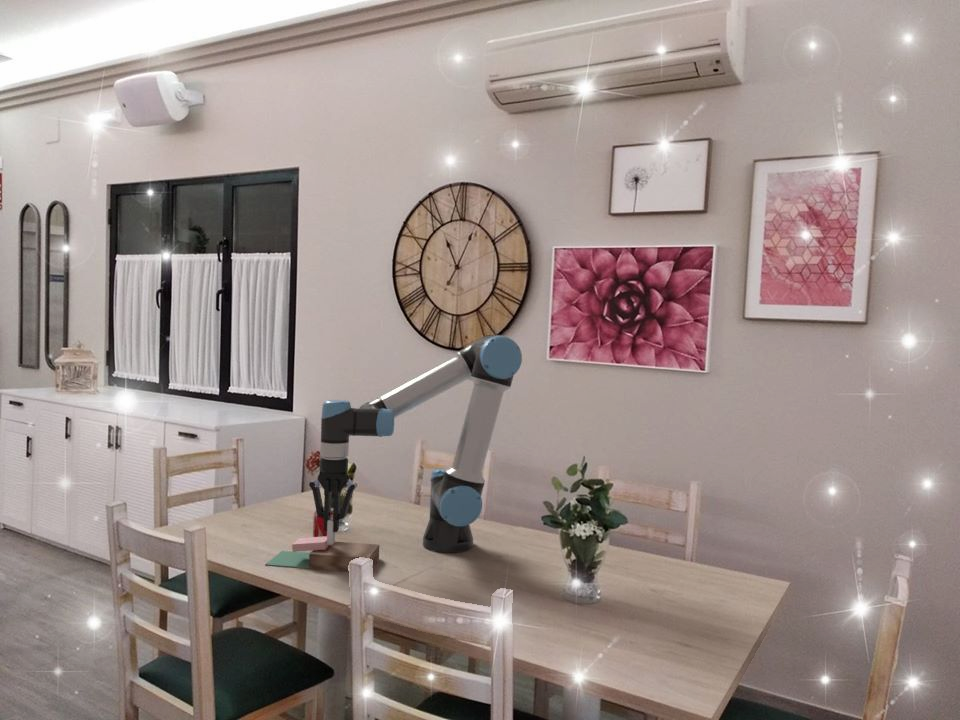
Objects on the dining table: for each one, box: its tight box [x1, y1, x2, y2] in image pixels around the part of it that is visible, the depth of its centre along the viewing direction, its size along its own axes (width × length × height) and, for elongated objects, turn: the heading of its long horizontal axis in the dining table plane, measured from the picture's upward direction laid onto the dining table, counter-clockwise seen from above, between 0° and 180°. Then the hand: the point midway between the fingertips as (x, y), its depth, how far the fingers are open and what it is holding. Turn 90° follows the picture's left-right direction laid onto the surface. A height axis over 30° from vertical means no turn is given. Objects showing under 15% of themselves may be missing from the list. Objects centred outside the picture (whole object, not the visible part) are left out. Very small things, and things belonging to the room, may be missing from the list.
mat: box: [264, 550, 311, 570], centre depth 196 cm, size 12×12×1 cm
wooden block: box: [309, 541, 380, 572], centre depth 194 cm, size 16×12×4 cm
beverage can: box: [312, 506, 333, 537], centre depth 205 cm, size 6×6×12 cm
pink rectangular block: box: [291, 536, 329, 552], centre depth 195 cm, size 9×6×2 cm, turn 85°
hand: (330, 543), depth 194 cm, fingers closed
